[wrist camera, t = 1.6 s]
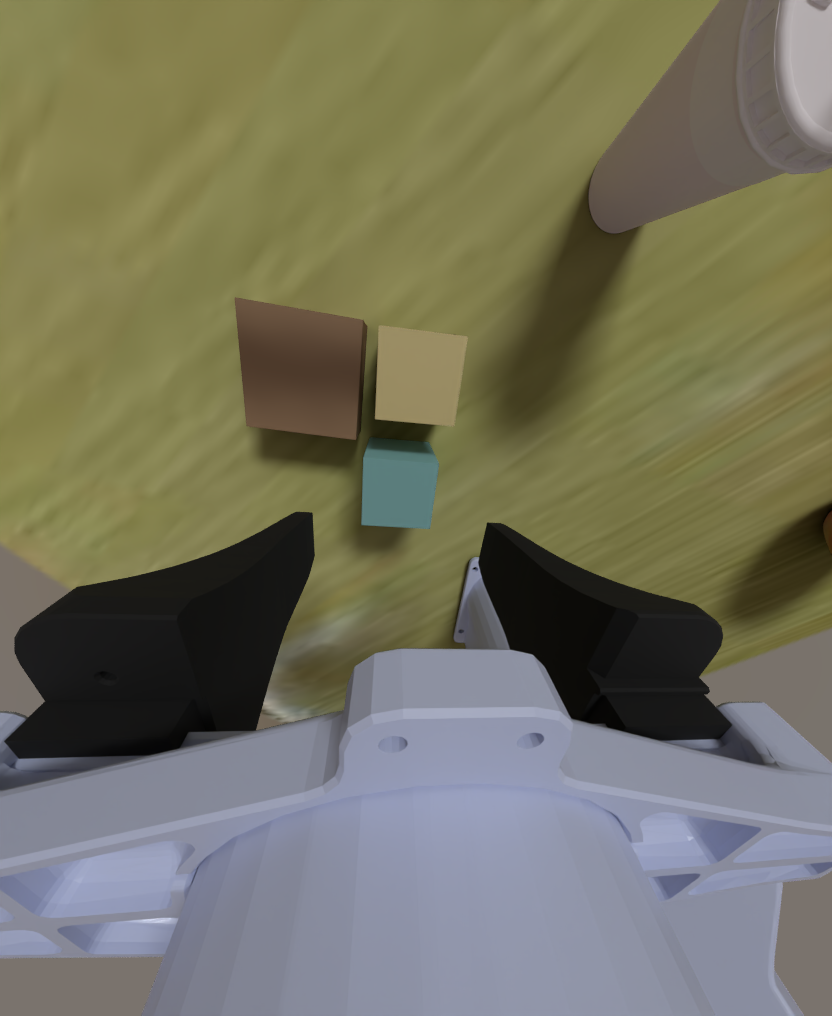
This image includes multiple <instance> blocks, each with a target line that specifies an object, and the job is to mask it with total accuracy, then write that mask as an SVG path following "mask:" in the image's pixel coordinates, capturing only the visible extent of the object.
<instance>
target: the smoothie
mask: <svg viewBox="0 0 832 1016" xmlns="http://www.w3.org/2000/svg"><path fill="white" fill-rule="evenodd" d="M831 167H832V0H720V1H719V2H718V4H717V5H716V6H715V8H714V9H713V10H712V12H711V13H710V14H709V16H708V17H707V18H706V20H705V21H704V22H703V24H702V25H701V26H700V28H699V29H698V30H697V31H696V33H695V34H694V35H693V37H692V38H691V39H690V41H689V42H688V43H687V45H686V46H685V47H684V49H683V50H682V51H681V53H680V54H679V55H678V57H677V58H676V59H675V60H674V62H673V63H672V64H671V66H670V67H669V68H668V70H667V71H666V72H665V74H664V75H663V76H662V78H661V79H660V80H659V82H658V83H657V84H656V86H655V87H654V88H653V89H652V91H651V92H650V93H649V95H648V96H647V97H646V99H645V100H644V101H643V103H642V104H641V105H640V107H639V108H638V109H637V111H636V112H635V113H634V115H633V116H632V117H631V119H630V120H629V121H628V122H627V124H626V125H625V126H624V128H623V129H622V130H621V132H620V133H619V134H618V136H617V137H616V138H615V140H614V141H613V142H612V144H611V145H610V146H609V148H608V149H607V150H606V151H605V153H604V154H603V156H602V157H601V158H600V160H599V162H598V164H597V165H596V168H595V170H594V172H593V175H592V178H591V182H590V187H589V208H590V213H591V216H592V218H593V220H594V222H595V223H596V225H597V226H598V227H599V228H600V229H602V230H603V231H605V232H608V233H621V232H625V231H627V230H630V229H633V228H635V227H638V226H641V225H644V224H646V223H649V222H652V221H655V220H657V219H660V218H663V217H666V216H668V215H671V214H674V213H676V212H679V211H682V210H685V209H687V208H690V207H693V206H696V205H698V204H701V203H704V202H706V201H709V200H712V199H715V198H717V197H720V196H723V195H726V194H728V193H731V192H734V191H736V190H739V189H742V188H745V187H747V186H750V185H753V184H756V183H760V182H762V181H765V180H767V179H770V178H773V177H775V176H778V175H780V174H783V173H789V174H803V173H818V172H821V171H824V170H826V169H829V168H831Z"/></svg>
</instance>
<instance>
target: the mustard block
mask: <svg viewBox="0 0 832 1016" xmlns="http://www.w3.org/2000/svg"><path fill="white" fill-rule="evenodd" d="M467 340H468V336H460V335H452V334H444V333H436V332H428V331H420V330H412V329H404V328H396V327H388V326H380V325H379V336H378V360H377V384H376V408H375V419H378V420H389V421H400V422H411V423H422V424H433V425H443V426H454V425H455V418H456V412H457V405H458V399H459V392H460V385H461V379H462V372H463V366H464V359H465V353H466V346H467Z"/></svg>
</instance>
